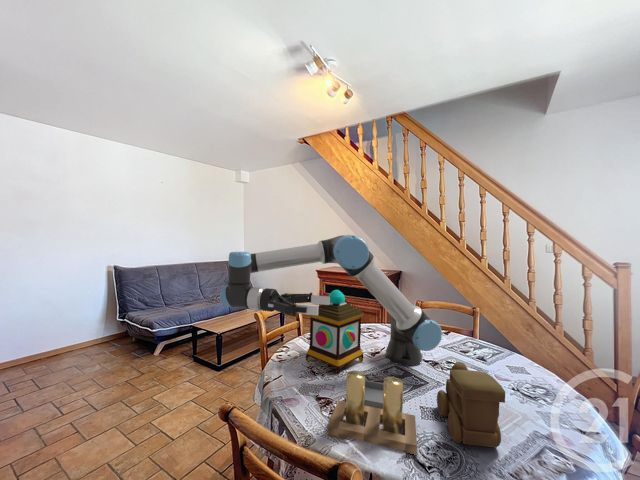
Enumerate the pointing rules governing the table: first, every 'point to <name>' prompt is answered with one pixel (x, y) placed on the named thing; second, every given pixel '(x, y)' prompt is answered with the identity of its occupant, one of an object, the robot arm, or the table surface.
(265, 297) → the robot arm
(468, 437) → the wooden toy train
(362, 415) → the cylinder
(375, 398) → the grey square tray
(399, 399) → the cylinder
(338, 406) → the wooden holder frame
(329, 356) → the decorative lantern
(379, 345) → the table surface
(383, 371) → the table surface
